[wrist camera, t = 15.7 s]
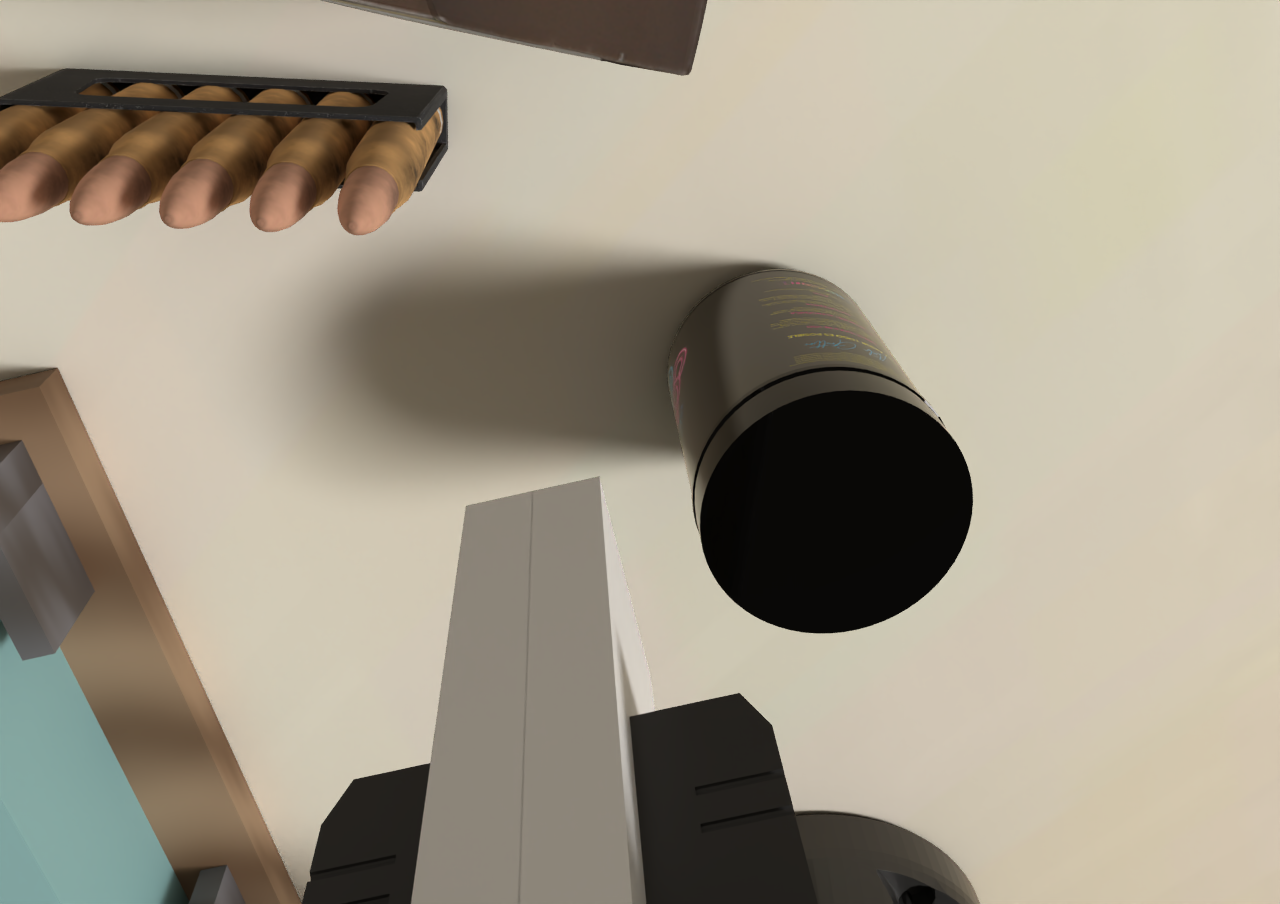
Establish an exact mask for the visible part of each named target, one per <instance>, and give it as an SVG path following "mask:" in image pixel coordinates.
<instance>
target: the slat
mask: <svg viewBox="0 0 1280 904" xmlns="http://www.w3.org/2000/svg"><path fill="white" fill-rule="evenodd" d="M0 904H189V900H188V898H187V896H186V894H185V892H184V890H183V888H182V886H181V884H180V882H179V880H178V878H177V876H176V874H175V872H174V870H173V868H172V866H171V864H170V862H169V861H168V859H167V857H166V855H165V853H164V851H163V849H162V847H161V845H160V843H159V841H158V839H157V837H156V835H155V833H154V831H153V829H152V827H151V825H150V823H149V821H148V819H147V817H146V815H145V813H144V811H143V809H142V807H141V805H140V804H139V802H138V800H137V798H136V796H135V794H134V792H133V790H132V788H131V786H130V784H129V782H128V780H127V778H126V776H125V774H124V772H123V770H122V768H121V766H120V764H119V762H118V760H117V758H116V756H115V754H114V752H113V750H112V748H111V747H110V745H109V743H108V741H107V739H106V737H105V735H104V733H103V731H102V729H101V727H100V725H99V723H98V721H97V719H96V717H95V715H94V713H93V711H92V709H91V707H90V705H89V703H88V701H87V699H86V697H85V695H84V693H83V691H82V690H81V688H80V686H79V684H78V682H77V680H76V678H75V676H74V674H73V672H72V670H71V668H70V666H69V664H68V662H67V660H66V658H65V656H64V654H63V652H62V650H61V648H60V646H59V648H58V650H57V651H56V653H55V654H51V655H46V656H42V657H37V658H33V659H28V660H24V661H22V659H21V657H20V655H19V653H18V651H17V649H16V648H15V646H14V644H13V642H12V640H11V638H10V636H9V634H8V632H7V631H6V629H5V627H4V625H3V623H2V621H1V619H0Z"/></svg>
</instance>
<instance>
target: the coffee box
mask: <svg viewBox="0 0 1280 904" xmlns="http://www.w3.org/2000/svg"><path fill="white" fill-rule="evenodd" d="M322 1H325V2H330V3H334V4H338V5H343V6H347V7H351V8H355V9H360V10H364V11H368V12H373V13H377V14H381V15H386V16H390V17H394V18H399V19H403V20H408V21H413V22H417V23H422V24H426V25H431V26H436V27H440V28H445V29H449V30H454V31H459V32H464V33H469V34H474V35H478V36H483V37H488V38H493V39H498V40H503V41H507V42H512V43H517V44H522V45H527V46H531V47H536V48H541V49H546V50H551V51H556V52H561V53H566V54H571V55H576V56H581V57H587V58H592V59H597V60H600V61H607V62H611V63H616V64H620V65H625V66H631V67H637V68H643V69H649V70H654V71H660V72H666V73H672V74H677V75H689V73H690V72H691V69H692V65H693V61H694V57H695V53H696V49H697V45H698V41H699V36H700V32H701V28H702V23H703V18H704V14H705V9H706V4H707V0H322Z"/></svg>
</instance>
